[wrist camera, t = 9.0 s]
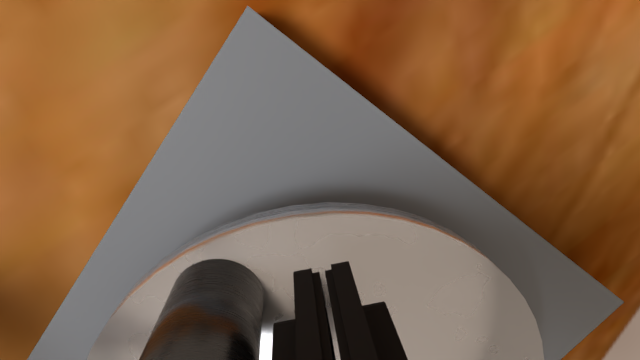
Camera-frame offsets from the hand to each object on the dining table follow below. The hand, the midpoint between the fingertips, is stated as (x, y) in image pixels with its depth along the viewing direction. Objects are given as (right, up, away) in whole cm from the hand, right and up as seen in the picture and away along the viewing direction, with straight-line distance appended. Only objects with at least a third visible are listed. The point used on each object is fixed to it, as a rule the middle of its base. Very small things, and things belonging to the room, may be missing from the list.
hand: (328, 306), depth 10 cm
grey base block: (-1, -5, +10) cm, 11 cm away
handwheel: (0, -6, +7) cm, 9 cm away
